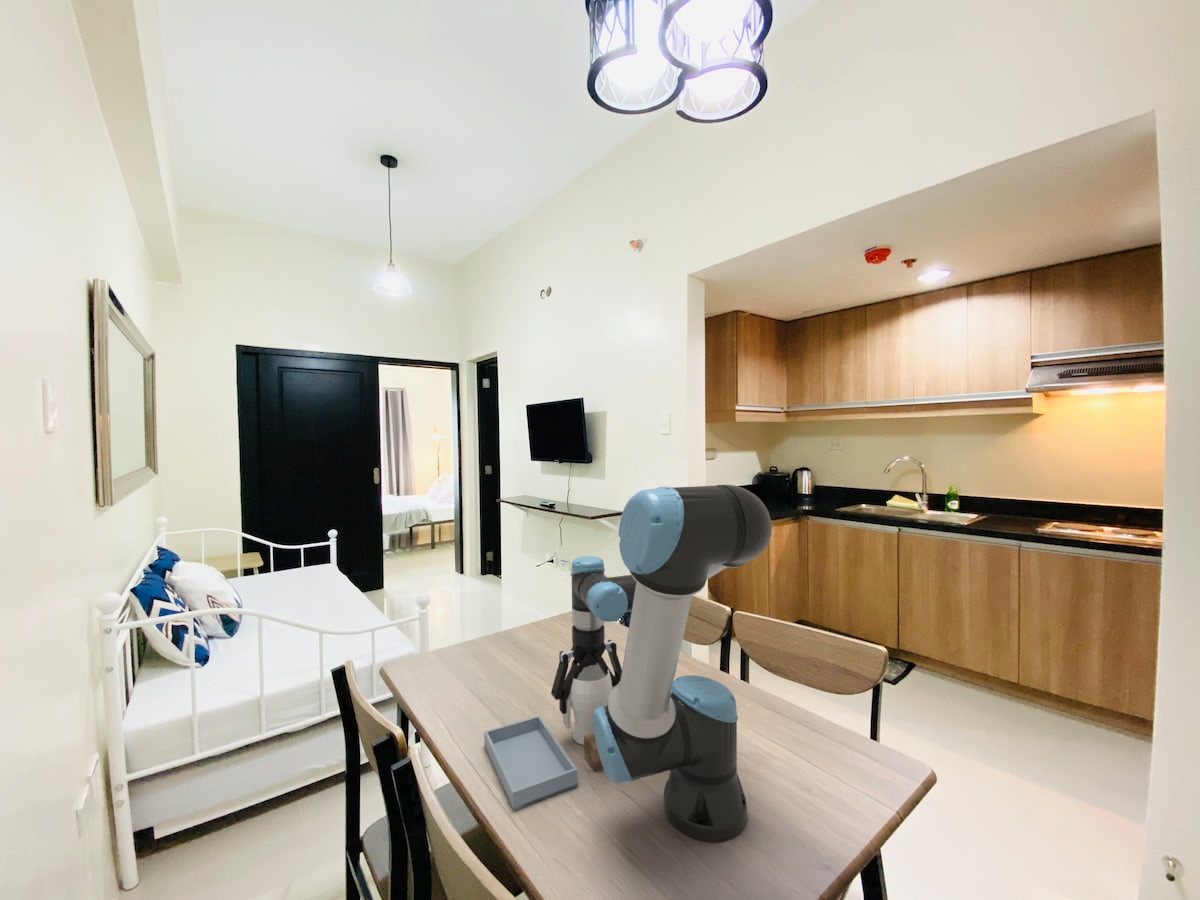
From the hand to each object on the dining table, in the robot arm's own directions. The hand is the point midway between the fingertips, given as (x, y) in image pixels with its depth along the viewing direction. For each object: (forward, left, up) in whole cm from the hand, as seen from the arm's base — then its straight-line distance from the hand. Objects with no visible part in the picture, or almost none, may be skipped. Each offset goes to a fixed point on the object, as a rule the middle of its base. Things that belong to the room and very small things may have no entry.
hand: (589, 718), depth 112 cm
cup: (0, 0, -4) cm, 4 cm away
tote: (-3, +16, -4) cm, 17 cm away
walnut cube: (-9, +2, -4) cm, 10 cm away
